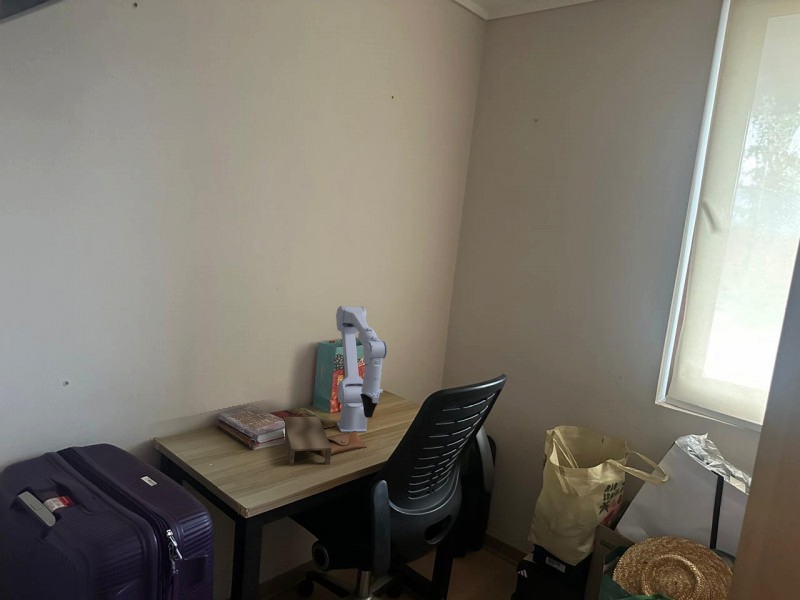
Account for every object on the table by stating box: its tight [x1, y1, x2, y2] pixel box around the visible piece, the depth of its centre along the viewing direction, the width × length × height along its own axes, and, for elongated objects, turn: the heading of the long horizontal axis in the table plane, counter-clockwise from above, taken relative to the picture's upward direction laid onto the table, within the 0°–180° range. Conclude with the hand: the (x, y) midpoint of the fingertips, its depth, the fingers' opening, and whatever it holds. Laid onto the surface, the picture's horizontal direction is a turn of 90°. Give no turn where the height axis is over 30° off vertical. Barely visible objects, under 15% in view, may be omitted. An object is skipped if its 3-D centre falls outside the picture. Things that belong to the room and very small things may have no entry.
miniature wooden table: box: [282, 416, 332, 467], centre depth 177 cm, size 12×25×5 cm, turn 18°
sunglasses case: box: [312, 431, 368, 459], centre depth 180 cm, size 18×7×7 cm, turn 132°
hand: (367, 416), depth 182 cm, fingers closed
